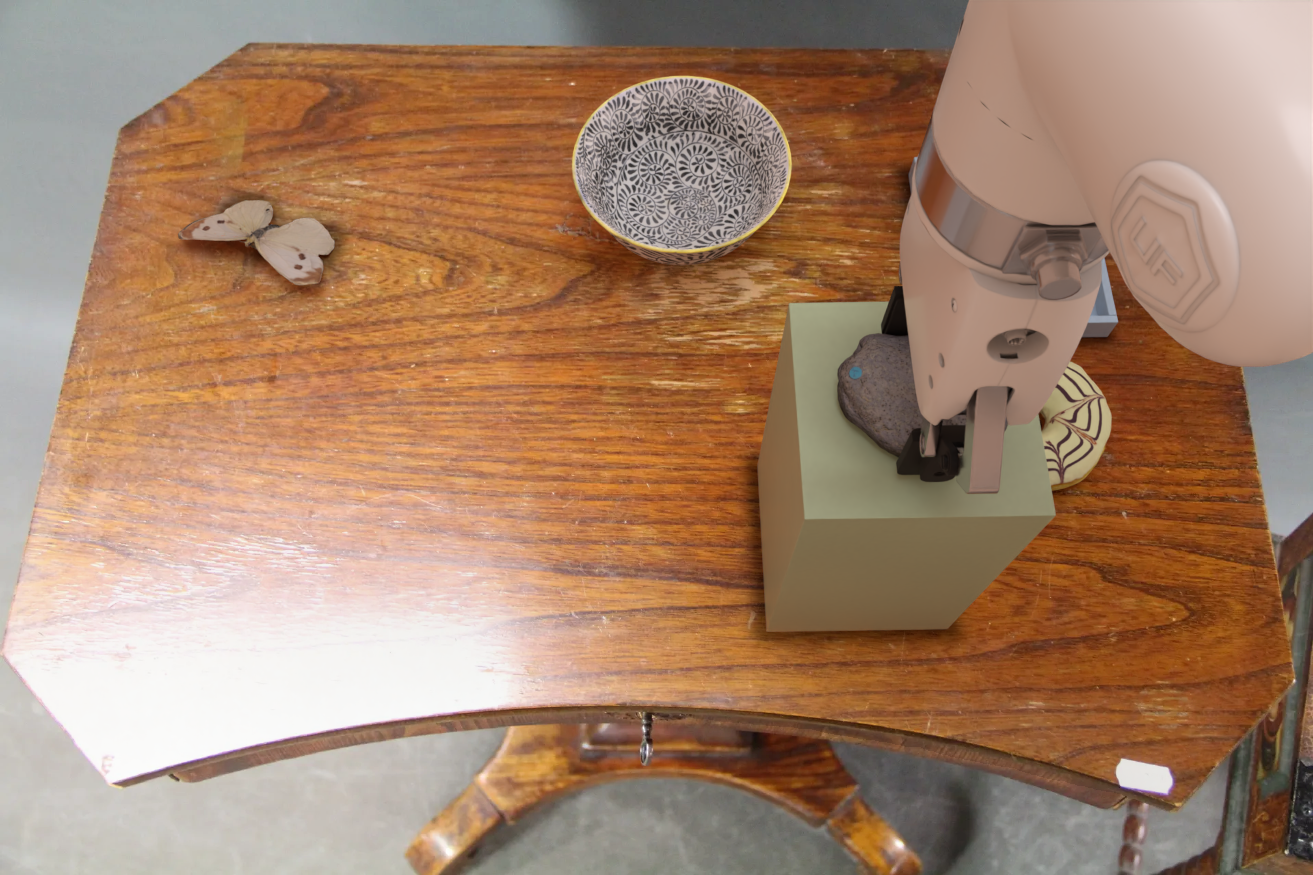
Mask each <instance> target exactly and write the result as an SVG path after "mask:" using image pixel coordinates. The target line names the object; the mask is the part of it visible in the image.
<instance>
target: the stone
mask: <svg viewBox="0 0 1313 875" xmlns="http://www.w3.org/2000/svg"><path fill="white" fill-rule="evenodd" d="M837 376H838V380H839V381H838V385H837V392H838V402H839V405H840V408H841V410H842V412H843V414H844V416H845V418H846V419H847V420H848V421H850V422H851V423H853V424H854V425H856V426H857V427H858V428H860V429H861V430H862V431H864V432H865V433H866V434H867V435H868V436H869V437H870V438H871V439H872V440H873V441H874V442H875V443H876V444H877V445H878V446H879V447H880V448H882V449H884V450H885V451H887V452H888V453H890V454H893V455H895V456H897V457H899V456H900V454H901V452H902V450H903V448H904V446H905V444H906V442H907V439H908V437H909V435H910V433H911V431H912V430H913V429H916V428H921V426H922V420H923V415H922V414H921V412H920V409H919V405H918V401H917V395H916V389H915V382H914V375H913V367H912V360H911V352H910V344H909V336H908V335H904V336H894V335H888V334H881V333H876V334H869V335H866V336H864V337H863V338H862V339H861V340H860V341H859V344H858V347H857V349H856V350H855V351H854V353H853V355H851V356H850V357H848V358H847V359H846V360H845V361H844V362H843V363H842V364H841V365H840V366H839V368H838V373H837ZM942 425H966V415H955V416H954V417H952V418H950V419H943V423H942ZM1007 426H1008V422H1007V419H1005V431H1006V429H1007ZM1005 431H1004V432H1005Z"/></svg>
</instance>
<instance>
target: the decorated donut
mask: <svg viewBox="0 0 1313 875" xmlns="http://www.w3.org/2000/svg"><path fill="white" fill-rule="evenodd" d="M1106 398H1107V397H1105V396H1104V393H1103V392H1102V390H1101V389H1100V388H1099V386H1098V385H1097V384H1096V383H1095V382H1094V380H1092V378H1091V377H1090V376H1089V375H1088V374H1087V372H1086V371H1085V370H1084V368H1083V367H1082V366H1081V365H1079V364H1078V363H1075V362H1073V361H1070V362H1069V364H1068V366H1067V368H1066V370H1065V371H1064V373H1063V375H1062V377H1061V378H1060V380H1059V382H1058V384H1057V385H1056V387H1055V389H1054V390H1053V392H1052V394H1051V395H1050V397H1049V399H1048V400H1047V402H1046V403H1045V405H1044V406H1043V408H1042V409H1041V411H1040V412H1039V413H1038V415H1039V421H1040V425H1041V432H1042V438H1043V444H1044V449H1045V455H1046V461H1047V467H1048V472H1049V478H1050V484H1051V490H1052V492H1053V491H1058V490H1063V489H1067V488H1070V487H1072V486H1075V485H1076V484H1079V483H1080V482H1082V481H1083V480H1085V479H1086V478H1087V477H1088V476H1089V474H1090V473H1091V472H1092V471H1093V470H1094V469H1095V467H1096V466H1097V464H1098V463H1099V461H1100V460H1101V457H1102V455H1103V454H1104V452H1105V450H1106V444H1107V442H1108V440H1109V438H1110V435H1111V432H1112V420H1113V419H1112V418H1113V417H1112V412H1111V410H1110V407H1109V405H1108V402H1107V399H1106Z"/></svg>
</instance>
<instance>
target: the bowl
mask: <svg viewBox="0 0 1313 875" xmlns="http://www.w3.org/2000/svg"><path fill="white" fill-rule="evenodd" d="M788 140H789V139H788V137H787V135H786V133H785V131H784V129H783V127H782V126H781V124H780V122H779V120H778V119H777V118H776V117H775V115H774V114H773V113H772V112H771V111H770V109H769V108H767V107H766V106H765V105H764V104H763V103H762V102H761V101H760V100H758V99H757V98H756V97H754V96H753V95H751V94H749V93H748V92H746V91H745V90H743V89H742V88H739V87H737V86H736V85H735V86H734V85H733V84H729V83H727V82H725V81H721V80H717V79H714V78H709V77H703V76H696V75H695V76H694V75H670V76H663V77H655V78H650V79H647V80H644V81H640V82H638V83H635V84H633V85H630V86H629V87H626V88H624V89H622V90H621V91H619V92H617V93H615V94H613V95H612V96H611V97H609V98H607V100H605V101H604V102H603V103H601V105H599V106H598V107H597V108H596V109H595V110H594V111H593V113H591V115H589V117H588V118H587V119H586V121H585V122H584V124H583V125H582V127H581V129H580V131H579V133H578V135H577V138H576V140H575V143H574V147H573V151H572V158H571V173H572V181H573V184H574V188H575V191H576V193H577V196H578V197H579V199H580V202H581V203H582V205H583V207H584V209H586V211H587V213H588V214H589V215H590V217H591V218H593V219H594V221H595V222H597V224H599V225H600V226H601V227H602V228H603V229H605V230H606V231H607V232H608V233H609V235H610V236H611V237H612V238H613V239H615V240H616V242H618V243H619V244H620V245H622V246H623V247H624V248H625V249H627V250H628V251H630V252H632V253H634V254H635V255H636V256H640V257H641V258H643V259H646V260H649V261H651V262H655V263H658V264H663V265H668V266H669V265H670V266H692V265H699V264H705V263H707V262H711V261H715V260H717V259H720V258H722V257H724V256H726V255H728V254H730V253H731V252H733V251H734V250H736V249H737V248H739V247H740V246H742V245H743V244H744V243H746V241H748V240H749V239H750V238H751V237H752V236H753V235H754V233H755V232H757V231H758V230H759V229H760V228H762V227H763V226H764V225H765V224H766V223H767V222H768V221H769V220H770V219H771V218H772V217H773V216H774V214H775V213H776V211H777V210H778V209H779V207H780V206H781V205H782V202H783V201H784V199H785V197H786V195H787V192H788V190H789V186H790V181H791V177H792V168H793V164H792V163H793V162H792V153H791V149H790V148H791V147H790V145H789V141H788Z"/></svg>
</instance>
